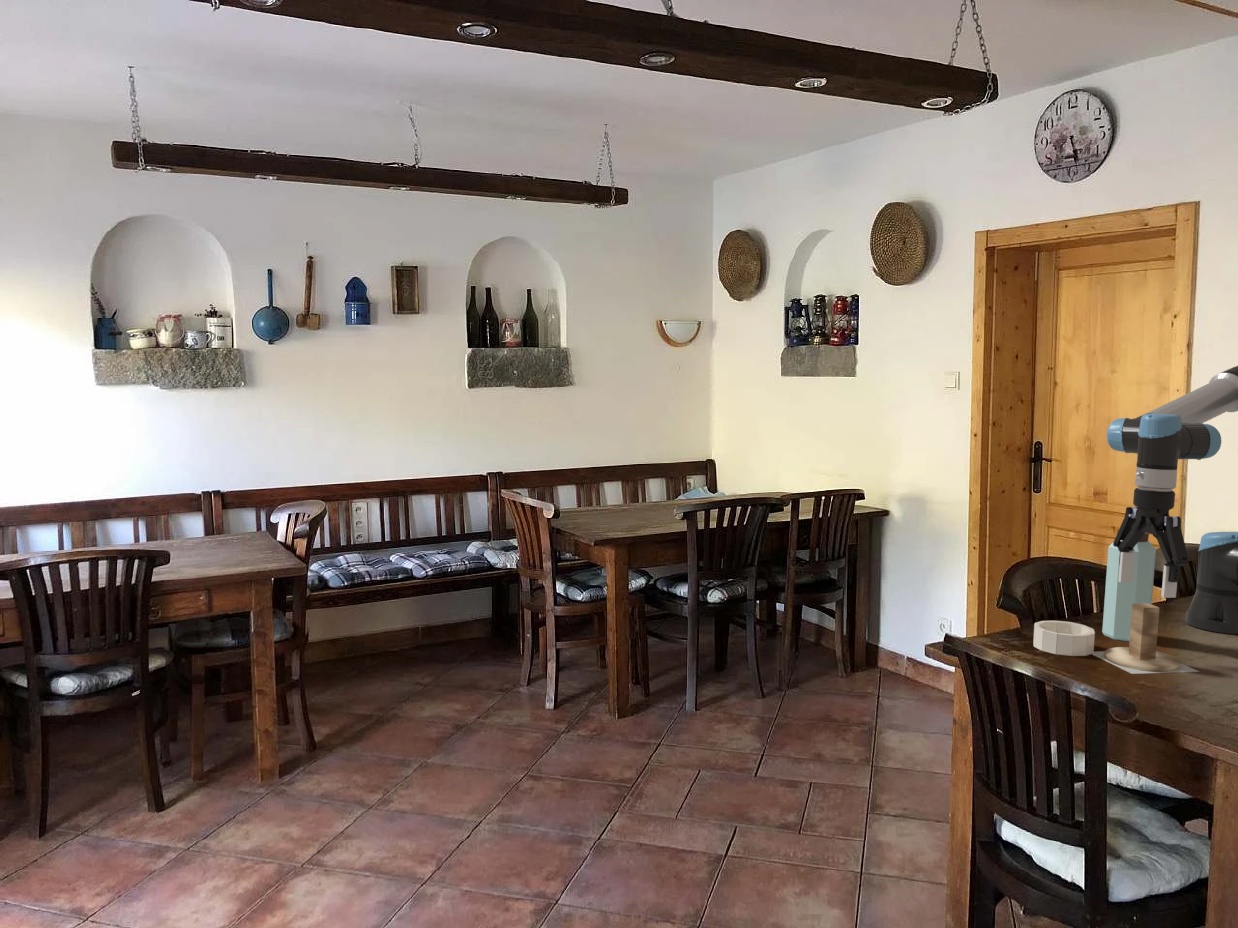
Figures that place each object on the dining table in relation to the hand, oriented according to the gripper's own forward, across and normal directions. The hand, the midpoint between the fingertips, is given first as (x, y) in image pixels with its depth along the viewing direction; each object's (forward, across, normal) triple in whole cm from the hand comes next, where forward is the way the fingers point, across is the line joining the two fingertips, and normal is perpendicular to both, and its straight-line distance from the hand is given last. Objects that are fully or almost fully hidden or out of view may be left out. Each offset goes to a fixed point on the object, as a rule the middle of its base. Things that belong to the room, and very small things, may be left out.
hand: (1146, 589), depth 209 cm
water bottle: (+16, -18, +10) cm, 26 cm away
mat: (+16, 0, 0) cm, 16 cm away
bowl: (+16, -11, -10) cm, 22 cm away
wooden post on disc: (+15, 0, 0) cm, 15 cm away
